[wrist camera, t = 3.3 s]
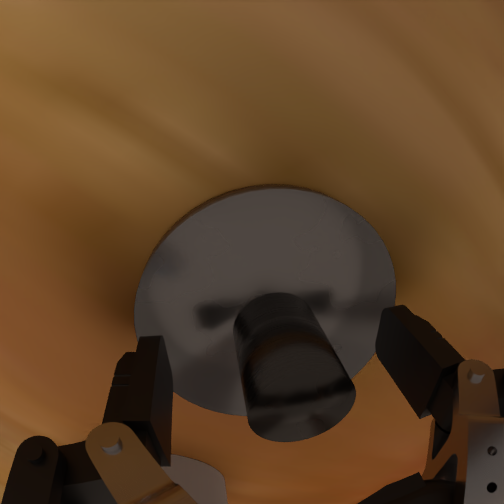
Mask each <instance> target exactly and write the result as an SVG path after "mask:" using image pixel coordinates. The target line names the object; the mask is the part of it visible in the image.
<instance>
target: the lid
mask: <svg viewBox="0 0 504 504" xmlns="http://www.w3.org/2000/svg"><path fill="white" fill-rule="evenodd" d="M395 297H396V280H395V274H394V267H393V264H392V261H391V258H390V255H389V252H388V250H387V248H386V246H385V244H384V242H383V240H382V239H381V238H380V236H379V235H378V233H377V232H376V231H375V229H374V228H373V227H372V226H371V225H370V224H369V223H368V222H367V221H366V220H365V219H364V218H363V217H362V216H361V215H359V214H358V213H356V212H355V211H354V210H352V209H351V208H349V207H348V206H346V205H345V204H343V203H341V202H339V201H338V200H336V199H334V198H332V197H330V196H328V195H326V194H324V193H321V192H318V191H315V190H311V189H308V188H305V187H299V186H292V185H280V184H266V185H257V186H249V187H245V188H241V189H237V190H233V191H230V192H227V193H224V194H222V195H219V196H217V197H215V198H212V199H210V200H208V201H206V202H204V203H203V204H201V205H199V206H198V207H196V208H194V209H193V210H191V211H190V212H189V213H187V214H186V215H185V216H184V217H182V218H181V219H180V220H179V221H177V222H176V223H175V224H174V225H173V226H172V227H171V228H170V230H169V231H168V232H167V233H166V234H165V235H164V236H163V237H162V239H161V240H160V242H159V243H158V244H157V246H156V247H155V249H154V250H153V252H152V254H151V256H150V258H149V260H148V262H147V264H146V266H145V269H144V271H143V274H142V277H141V280H140V283H139V286H138V290H137V293H136V299H135V307H134V325H135V331H136V336H137V341H139V338H140V336H157V335H162V336H163V338H164V341H165V346H166V350H167V354H168V358H169V362H170V366H171V370H172V376H173V392H175V393H176V394H178V395H179V396H181V397H182V398H184V399H186V400H188V401H189V402H191V403H193V404H196V405H198V406H200V407H203V408H206V409H209V410H212V411H215V412H220V413H225V414H230V415H240V416H247V417H248V423H249V426H250V428H251V429H252V430H253V431H254V432H255V433H256V434H257V435H259V436H260V437H262V438H264V439H268V440H271V441H277V442H293V441H300V440H304V439H308V438H311V437H314V436H317V435H319V434H321V433H323V432H325V431H327V430H329V429H330V428H332V427H333V426H335V425H336V424H337V423H339V422H340V421H341V420H342V419H343V418H344V417H345V416H346V415H347V414H348V412H349V411H350V409H351V408H352V406H353V404H354V401H355V397H356V390H355V386H354V384H353V382H352V381H351V379H352V378H353V377H354V376H355V375H356V374H357V373H358V372H359V371H360V370H361V369H362V368H363V367H364V366H365V365H366V363H367V362H368V361H369V360H370V359H371V357H372V356H373V355H374V353H375V352H376V350H375V342H376V337H377V332H378V328H379V323H380V318H381V313H382V311H383V309H384V308H388V307H393V306H394V305H395Z"/></svg>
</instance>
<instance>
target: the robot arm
mask: <svg viewBox="0 0 504 504" xmlns="http://www.w3.org/2000/svg"><path fill="white" fill-rule="evenodd" d="M375 350H376V354H377V357H378V358H379V360H380V361H381V363H382V364H383V366H384V367H385V369H386V370H387V372H388V373H389V374H390V376H391V377H392V379H393V380H394V382H395V383H396V385H397V386H398V388H399V389H400V390H401V392H402V393H403V395H404V396H405V398H406V399H407V401H408V402H409V404H410V405H411V407H412V408H413V410H414V411H415V413H416V414H417V416H418V417H419V419H421V418H423V417H426V416H428V415H431V414H432V416H433V417H434V419H433V420H432V423H431V428H430V438H429V446H428V454H427V461H426V466H425V470H424V472H423V474H422V476H421V475H420V473H419V472H418V473H416V474H413V475H411V476H409V477H406V478H404V479H401V480H399V481H396V482H394V483H391V484H389V485H386V486H385V487H383V488H382V489H380V490H379V491H377V492H376V493H374V494H372V495H371V496H369V497H368V498H366V499H364V500H363V501H361V502H359V503H358V504H504V369H495V370H492V369H491V368H490V367H489V366H488V365H487V364H485V363H484V362H482V361H479V360H473V359H470V360H465V359H464V358H463V357H462V356H461V355H460V354H459V353H458V352H457V351H456V350H455V349H454V348H453V347H452V346H451V345H450V344H449V343H448V342H447V341H446V340H445V339H444V338H442V335H441V334H440V333H439V332H438V331H437V332H436V329H435V328H434V327H433V326H432V325H431V324H430V323H429V322H428V321H426V320H424V319H422V318H420V317H418V316H417V315H414V314H413V313H412V312H411V311H410V310H409V309H408V308H407V307H406V306H404V305H398V306H393V307H388V308H384V309H383V311H382V313H381V318H380V323H379V328H378V332H377V337H376V342H375ZM172 402H173V376H172V370H171V366H170V362H169V358H168V354H167V350H166V346H165V341H164V338H163V336H162V335H157V336H140V338H139V341H138V345H137V349H136V352H126V353H125V354H124V355H123V357H122V358H121V359H120V360H119V361H118V363H117V366H116V369H115V373H114V377H113V381H112V387H111V388H110V392H109V396H108V400H107V405H106V409H105V413H104V417H103V422H102V424H101V425H99V426H97V427H95V428H94V429H93V430H92V431H91V432H90V433H89V435H88V436H87V439H86V440H85V441H82V442H79V443H74V444H68V445H63V446H57V445H56V444H55V443H54V442H53V441H52V440H51V439H50V438H48V437H45V436H33V437H30V438H28V439H26V440H25V441H23V442H22V443H21V444H20V446H19V447H18V449H17V452H16V455H15V458H14V461H13V464H12V467H11V470H10V474H9V477H8V480H7V484H6V488H5V491H4V495H3V499H2V503H1V504H198V503H197V502H196V501H195V500H194V499H193V498H192V497H191V496H190V495H189V494H188V493H187V492H186V491H185V490H184V489H183V488H182V487H181V486H180V485H179V484H176V483H174V482H173V481H172V480H171V478H170V477H169V476H168V475H167V474H166V473H165V471H164V470H163V469H162V468H161V467H171V427H172Z"/></svg>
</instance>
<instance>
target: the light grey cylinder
mask: <svg viewBox="0 0 504 504" xmlns="http://www.w3.org/2000/svg"><path fill="white" fill-rule="evenodd" d="M161 468H162V469H163V470H164V471H165V473H166V474H167V475H168V476H169V477H170V478H171V480H172V481H173V482H174V483H176V484H179V485H180V486H181V487H182V488H183V489H184V490H185V491H186V492H187V493H188V494H189V495H190V496H191V497H192V498H193V499H194V500H195V501H196V502H197V503H198V504H228V502H227V495H226V487H225V479H224V477H223V475H222V474H221V473H220V472H219V471H218V470H216V469H215V468H213V467H212V466H210V465H208V464H206V463H203V462H201V461H198V460H195V459H191V458H187V457H183V456H178V455H172V454H171V467H161Z"/></svg>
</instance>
